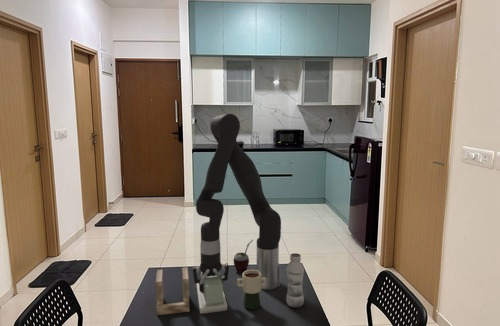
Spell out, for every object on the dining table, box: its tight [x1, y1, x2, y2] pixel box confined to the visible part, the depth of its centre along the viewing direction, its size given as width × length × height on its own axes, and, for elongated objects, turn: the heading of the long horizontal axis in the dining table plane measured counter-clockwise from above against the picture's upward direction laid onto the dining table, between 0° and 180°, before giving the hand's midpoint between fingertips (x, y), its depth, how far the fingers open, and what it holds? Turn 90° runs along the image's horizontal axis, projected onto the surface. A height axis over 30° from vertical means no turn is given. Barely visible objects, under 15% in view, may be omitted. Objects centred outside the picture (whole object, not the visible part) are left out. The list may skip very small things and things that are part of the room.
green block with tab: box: [200, 272, 224, 305], centre depth 139 cm, size 6×17×7 cm, turn 18°
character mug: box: [236, 269, 266, 310], centre depth 134 cm, size 11×7×13 cm, turn 93°
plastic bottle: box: [285, 252, 305, 309], centre depth 134 cm, size 6×7×20 cm
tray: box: [196, 283, 228, 314], centre depth 141 cm, size 10×20×2 cm, turn 12°
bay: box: [155, 266, 191, 316], centre depth 135 cm, size 12×12×12 cm
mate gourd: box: [233, 239, 254, 274], centre depth 164 cm, size 8×8×15 cm
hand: (211, 291), depth 138 cm, fingers closed on green block with tab, 6 cm apart
